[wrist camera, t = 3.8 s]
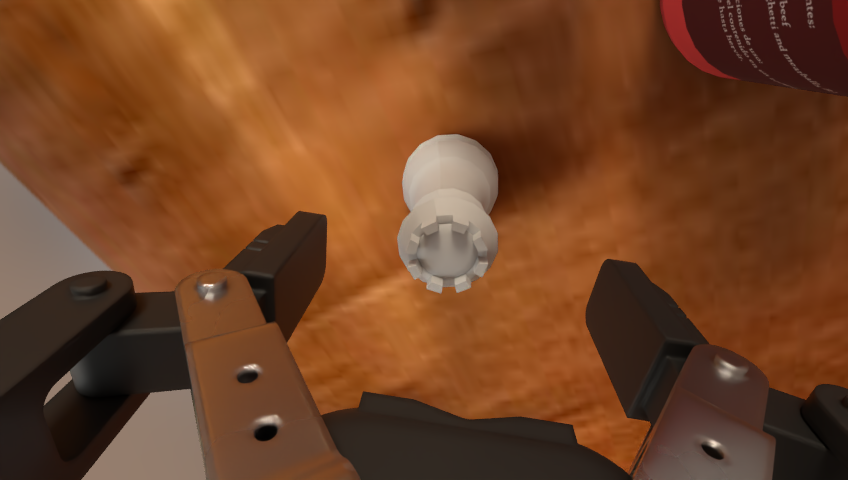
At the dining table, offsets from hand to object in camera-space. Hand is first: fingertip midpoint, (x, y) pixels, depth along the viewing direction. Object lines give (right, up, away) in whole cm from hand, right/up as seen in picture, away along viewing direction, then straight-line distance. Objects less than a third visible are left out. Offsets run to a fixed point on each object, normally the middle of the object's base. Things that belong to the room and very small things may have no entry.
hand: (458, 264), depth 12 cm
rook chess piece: (0, +4, +8) cm, 9 cm away
